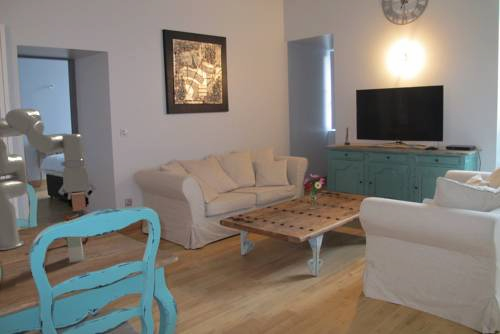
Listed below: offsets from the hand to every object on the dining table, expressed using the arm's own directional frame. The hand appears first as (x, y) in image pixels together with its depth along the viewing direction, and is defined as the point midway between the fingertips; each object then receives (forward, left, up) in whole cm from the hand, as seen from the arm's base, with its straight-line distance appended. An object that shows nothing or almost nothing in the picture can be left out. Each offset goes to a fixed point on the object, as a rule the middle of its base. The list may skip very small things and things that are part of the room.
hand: (79, 206), depth 189 cm
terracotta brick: (0, 0, -1) cm, 1 cm away
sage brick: (+4, -3, -15) cm, 16 cm away
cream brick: (+4, -3, -21) cm, 21 cm away
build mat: (+4, -3, -21) cm, 22 cm away
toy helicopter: (-22, -7, -22) cm, 31 cm away
